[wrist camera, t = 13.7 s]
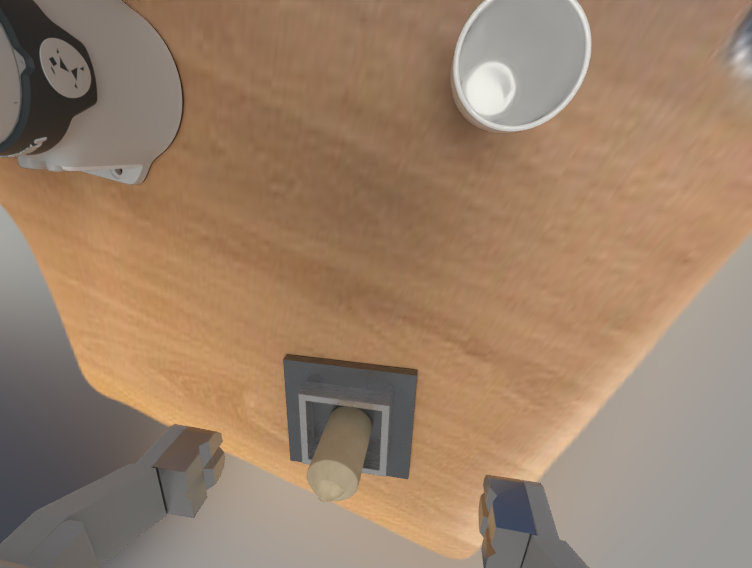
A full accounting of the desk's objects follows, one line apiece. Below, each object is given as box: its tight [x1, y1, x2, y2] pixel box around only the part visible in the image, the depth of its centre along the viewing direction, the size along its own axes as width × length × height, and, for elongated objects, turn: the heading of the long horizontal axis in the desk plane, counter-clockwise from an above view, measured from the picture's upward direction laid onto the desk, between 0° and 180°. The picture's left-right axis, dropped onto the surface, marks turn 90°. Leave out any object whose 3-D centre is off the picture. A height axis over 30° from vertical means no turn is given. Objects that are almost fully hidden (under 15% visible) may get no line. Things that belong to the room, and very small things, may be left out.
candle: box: [307, 406, 372, 502], centre depth 42 cm, size 6×6×10 cm
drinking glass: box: [450, 0, 591, 134], centre depth 26 cm, size 7×7×15 cm
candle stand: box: [283, 354, 417, 479], centre depth 46 cm, size 16×16×4 cm
